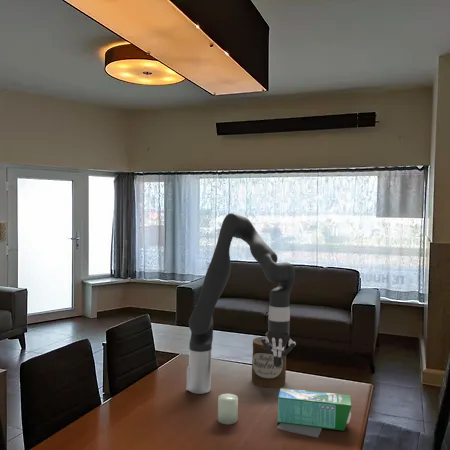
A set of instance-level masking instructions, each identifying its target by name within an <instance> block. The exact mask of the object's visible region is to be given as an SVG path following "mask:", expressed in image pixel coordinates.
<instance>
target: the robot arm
mask: <svg viewBox="0 0 450 450" xmlns="http://www.w3.org/2000/svg"><path fill="white" fill-rule="evenodd" d="M233 238H236V239H240V240H242V241H243V242H245V243H246V244H247V245H248V246H249V250H250V253H251V254H250V255H251V256H252V257H253V258H254V260H255V261H256V262H257V263H258V264H259V265H260V267H261V269H262V272H263V274H264V277H265V278H266V280H268V281H269V282H270V283H275V284H276V283H277V284H278V285H277V287H274V288H272V289H271V290H270V292H269V308H268V327H267V329H268V331H267V332H268V334H267V337H266V336H264V337H265V338H263V339H262V340H261V342H262V343H263V345H264V346H265V348H266V349H267V351H268V352H269V354H272V355H273V356H274V365H275V367H280V366H281V365H282V357H283V356H286V357H287V355H288V354H289V353H290V352H291V350H292V349H293V348H294V347H295V346H296V345H297V342H296V341H294V340H293V339H291V337H292V336H291V335H290V325H291V324H290V323H291V322H290V321H291V320H290V319H291V310H290V296H291V295H290V294H291V292H292V289H293V288H292V287H293V284H294V280H295V277H296V272H295V268H294V266H293V265H292V263H290V262H285V261H284V262H281V261H280V262H278V255H277V254H276V252H275V251H274V250H273V249H272V248H271V247H270V246H269V244H267V243H266V242H265V241H264V239H262V237H261V236H260V234H259V233H258V231H257V229H256V228H255V226H254V225H253V223H252V222H251V220H250V219H249V218H247V217H246V216H243V215H241V214H237V213H234V212H230V213H228V214H227V215H226V216H225V217H224V219H223V221H222V223H221V226H220V230H219V234H218V237H217V242H216V246H215V248H214V251H213V253H212V254H213V255H212V258H211V261H210V262H209V264H208V265H209V266H208V268H207V271H206V273H205V275H204V279H203V283H202V287H201V290H200V294H199V297H198V300H197V302H196V304H195V306H194V308H193V310H192V313H191V314H190V316H189V319H188V327H189V330H190V333H191V334H190V340H189V347H188V349H189V351H188V352H189V355H188V366H187V367H186V389H185V390H186V391H189V392H190V393H192V394H196V395H198V394H199V395H200V394H201V395H202V394H203V395H204V394H207V393H209V392H210V391H211V385H212V350H213V349H212V348H213V347H212V346H213V337H214V318H213V317H214V316H213V315H214V311H215V308H216V305H217V303H218V301H219V299H220V297H221V296H222V294H223V292H224V289H225V288H226V286H227V283H228V280H229V278H230V275H231V271H232V262H231V255H230V248H231V244H232V240H233ZM268 339H269V340H268ZM269 341H270V343H271V344H272V345H273V348H272V347H271V345H270V344H269ZM287 344H288V347H286V351H284V352H283V350H284V346H285V345H286V346H287Z"/></svg>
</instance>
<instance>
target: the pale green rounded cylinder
mask: <svg viewBox="0 0 450 450" xmlns="http://www.w3.org/2000/svg"><path fill="white" fill-rule="evenodd" d="M217 398H218V399H217V400H218V402H217V404H218V405H217V421H218V423H220V424H223V425H234V424H236V423H237V422H238V415H239V414H238V410H239V408H238V407H239V397H238V396H237V395H236V394H233V393H222V394H220V395H218V397H217Z"/></svg>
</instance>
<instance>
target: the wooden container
mask: <svg viewBox="0 0 450 450" xmlns="http://www.w3.org/2000/svg"><path fill="white" fill-rule="evenodd" d="M267 334H268V331H266V333H265V336H259V337H255V338H253V339H252V358H251V359H252V361H251V382H252V384H254V385H256V386H258V387H260V388H270V389H271V388H272V389H274V388H281V387H283V386H285V384H286V378H287V377H286V375H287V374H286V373H287V371H286V370H287V355H286V356H283V357H282V365H281V366H280V367H275V365H274V356H273V355H272V354H269V352H268V351H267V349H266V348H265V346H264V345H263V343H262V342H261V340H262V339H263V338H265V337H267ZM268 340H269V339H268ZM269 344H270V345H271V347H272V348H273V345H272V344H271V343H270V341H269ZM286 350H287V344H286V345H285V346H284V350H283V352H284V351H286Z"/></svg>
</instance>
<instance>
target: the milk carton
mask: <svg viewBox="0 0 450 450" xmlns="http://www.w3.org/2000/svg"><path fill="white" fill-rule="evenodd" d="M351 398H352V397H351V395H350V394H342V393H332V392H323V391H314V390H313V391H312V390H304V389H295V388H284V387H280V389H279V393H278V398H277V400H278V401H277V424H278V423H279V424H280V423H286V424H294V425H302V426H310V427H318V428H322V429H327V430H334V431H335V430H337V431H345V430H346V426H347V425H348V424H349V423H350V420H351V417H352V412H351V410H352V407H353V405H352V399H351Z"/></svg>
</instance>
